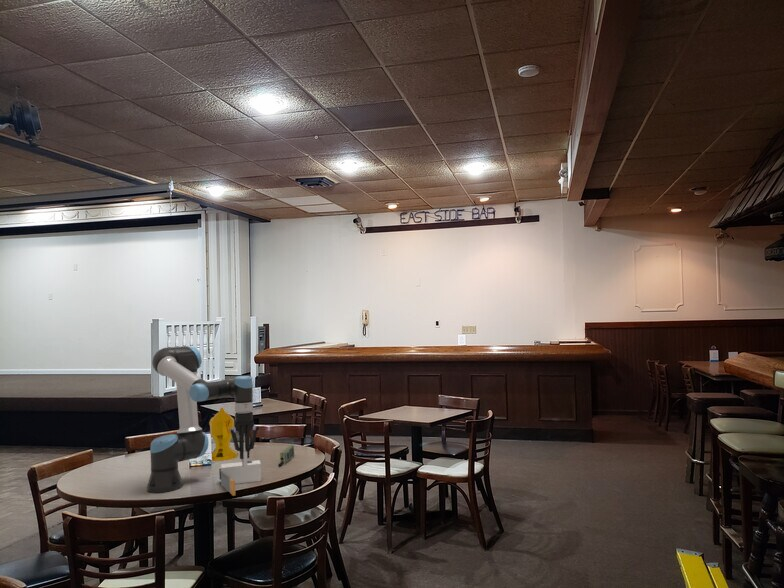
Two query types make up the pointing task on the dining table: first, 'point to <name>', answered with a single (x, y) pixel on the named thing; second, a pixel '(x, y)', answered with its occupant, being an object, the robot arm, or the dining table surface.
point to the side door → (228, 482)
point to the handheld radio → (286, 454)
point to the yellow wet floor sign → (222, 436)
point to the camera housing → (243, 471)
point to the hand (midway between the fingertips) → (244, 466)
